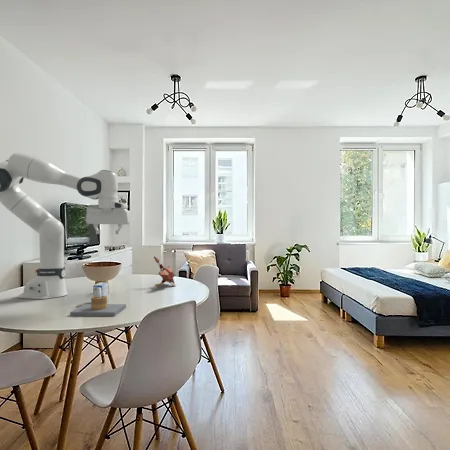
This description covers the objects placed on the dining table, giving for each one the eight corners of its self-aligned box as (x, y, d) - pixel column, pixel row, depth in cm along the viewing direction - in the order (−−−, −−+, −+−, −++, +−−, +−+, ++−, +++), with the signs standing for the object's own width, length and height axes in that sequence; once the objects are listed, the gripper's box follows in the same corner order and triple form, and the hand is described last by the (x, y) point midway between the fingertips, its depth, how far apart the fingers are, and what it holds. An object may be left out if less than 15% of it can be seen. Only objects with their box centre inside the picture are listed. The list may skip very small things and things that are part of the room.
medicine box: (99, 300, 171) (99, 282, 171) (108, 300, 171) (108, 282, 171) (92, 304, 163) (92, 285, 163) (102, 304, 163) (102, 285, 163)
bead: (89, 309, 147) (89, 298, 147) (94, 306, 153) (94, 295, 153) (103, 309, 147) (103, 298, 147) (108, 306, 153) (108, 295, 153)
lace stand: (70, 315, 143) (69, 290, 143) (85, 307, 157) (85, 284, 157) (114, 316, 142) (114, 290, 142) (126, 307, 156) (125, 284, 156)
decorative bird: (150, 276, 223) (159, 253, 222) (177, 287, 222) (186, 265, 222) (137, 284, 194) (147, 258, 194) (168, 297, 194) (179, 271, 193)
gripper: (83, 204, 168) (83, 234, 168) (126, 204, 167) (126, 234, 167) (89, 204, 174) (89, 233, 174) (131, 205, 173) (130, 234, 173)
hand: (107, 234), depth 171 cm, fingers open, 8 cm apart
